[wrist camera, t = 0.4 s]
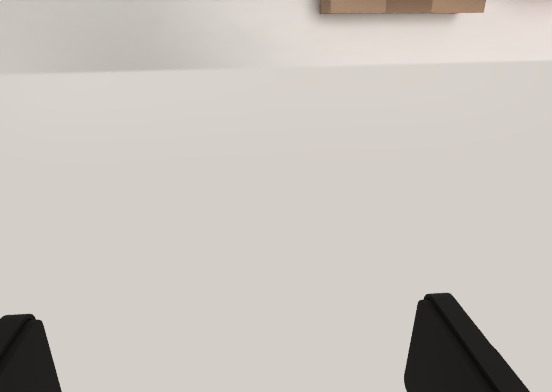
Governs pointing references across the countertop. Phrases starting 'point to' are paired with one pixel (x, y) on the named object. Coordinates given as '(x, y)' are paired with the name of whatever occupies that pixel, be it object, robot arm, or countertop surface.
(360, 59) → the countertop surface
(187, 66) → the countertop surface
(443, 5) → the button block
